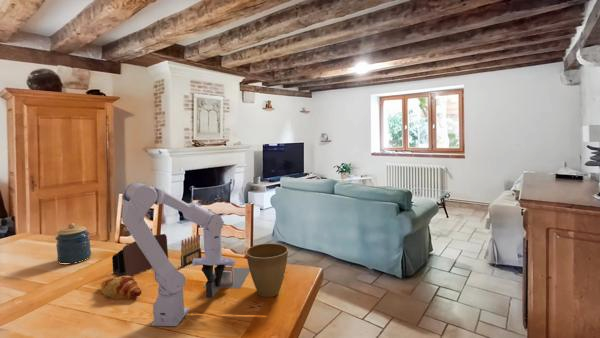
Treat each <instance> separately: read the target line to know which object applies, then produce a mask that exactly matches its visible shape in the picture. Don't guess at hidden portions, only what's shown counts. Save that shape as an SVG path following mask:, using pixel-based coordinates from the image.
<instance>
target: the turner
mask: <svg viewBox="0 0 600 338" xmlns="http://www.w3.org/2000/svg"><path fill="white" fill-rule="evenodd" d="M231 282H232V275H231V271H223V274H222V277H221V283H231ZM205 285H206V288H205V294H206V295H205V297H206V299H207V298H208V299H213V298H214V296H215V294H217V292H218V291H219V289H221V288H220V285H219V286H218V287H217V285H216V274H215V271H214V270H213V275H212V276H211V277H210V279H209V280H207V281H206V282H205Z"/></svg>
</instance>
